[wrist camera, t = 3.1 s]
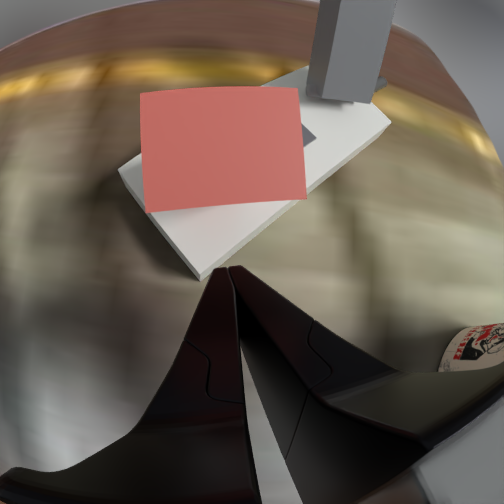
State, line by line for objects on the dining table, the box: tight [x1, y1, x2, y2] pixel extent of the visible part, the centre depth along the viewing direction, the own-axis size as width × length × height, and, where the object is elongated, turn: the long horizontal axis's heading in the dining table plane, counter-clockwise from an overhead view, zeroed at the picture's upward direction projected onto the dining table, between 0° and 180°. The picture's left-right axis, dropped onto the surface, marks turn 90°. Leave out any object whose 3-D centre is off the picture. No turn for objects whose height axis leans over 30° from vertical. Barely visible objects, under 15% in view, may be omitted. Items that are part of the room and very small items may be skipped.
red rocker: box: [140, 86, 307, 213], centre depth 11 cm, size 3×5×10 cm, turn 99°
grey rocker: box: [306, 0, 396, 104], centre depth 15 cm, size 3×5×10 cm, turn 99°
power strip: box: [118, 66, 391, 282], centre depth 20 cm, size 25×8×3 cm, turn 132°
